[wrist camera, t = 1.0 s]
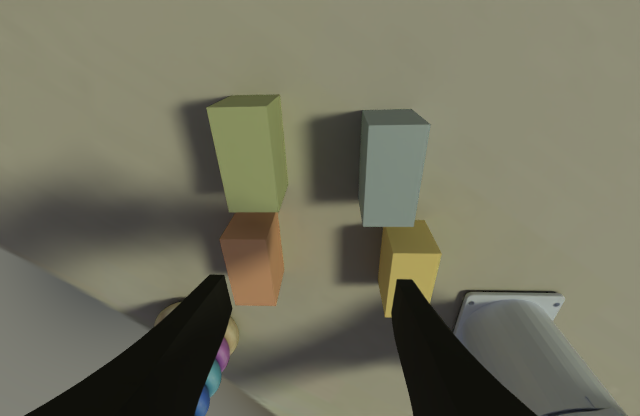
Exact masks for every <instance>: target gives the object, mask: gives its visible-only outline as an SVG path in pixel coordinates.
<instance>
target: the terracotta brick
mask: <svg viewBox="0 0 640 416" xmlns="http://www.w3.org/2000/svg"><path fill="white" fill-rule="evenodd" d="M219 240H220V244H221V248H222V252H223V256H224V260H225V264H226V268H227V272H228V276H229V280H230V284H231V288H232V292H233V296H234V300H235V304H236V305H254V306H276V303H277V299H278V295H279V290H280V286H281V282H282V277H283V273H284V263H283V255H282V246H281V238H280V229H279V221H278V212H235V214H234V216H233V217H232V219H231V221H230V222H229V224H228V226H227V227H226V229H225V231H224V232H223V234H222V236H221V237H220V239H219Z"/></svg>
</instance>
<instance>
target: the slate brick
mask: <svg viewBox="0 0 640 416" xmlns="http://www.w3.org/2000/svg"><path fill="white" fill-rule="evenodd" d="M430 125H431V124H429V123H428V122H427V121H426V120H424V119H423V118H422V117H421V116H419V115H418V114H417V113H416V112H415V111H413V110H412V109H395V110H362V124H361V146H360V168H359V190H358V199H359V205H360V211H361V218H362V224H363V227H414V222H415V216H416V210H417V204H418V198H419V192H420V186H421V180H422V174H423V167H424V161H425V155H426V149H427V143H428V137H429V131H430Z"/></svg>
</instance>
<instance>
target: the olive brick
mask: <svg viewBox="0 0 640 416" xmlns="http://www.w3.org/2000/svg"><path fill="white" fill-rule="evenodd" d="M206 109H207V113H208V118H209V122H210V127H211V132H212V136H213V141H214V145H215V150H216V155H217V159H218V164H219V168H220V173H221V178H222V182H223V187H224V191H225V196H226V201H227V205H228V210H229V212H279V210H280V207H281V204H282V201H283V198H284V195H285V192H286V189H287V186H288V178H287V167H286V156H285V145H284V134H283V123H282V112H281V101H280V95H235V96H229V97H227V98H225V99H223V100H221V101H219V102H217V103H215V104H213V105H211V106H209V107H206Z"/></svg>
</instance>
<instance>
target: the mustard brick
mask: <svg viewBox="0 0 640 416" xmlns="http://www.w3.org/2000/svg"><path fill="white" fill-rule="evenodd" d="M440 258H441V252H440V250H439V248H438V246H437V244H436V242H435V240H434V238H433V236H432V234H431V232H430V230H429V228H428V226H427V224H426V222H425V220H415V222H414V227H383V234H382V244H381V253H380V263H379V273H378V283H379V288H380V294H381V299H382V305H383V310H384V315H385V317H392V316H391V311H392V305H393V299H394V293H395V287H396V281H397V279H412V280H413V281H414V282H415V284H416V285H417V286H418V288H419V289H420V291H421V292H422V294H423V295H424V296H425V298H426V299H427V301H428V302H429V303H430V300H431V296H432V292H433V288H434V283H435V279H436V275H437V271H438V267H439V263H440Z"/></svg>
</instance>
